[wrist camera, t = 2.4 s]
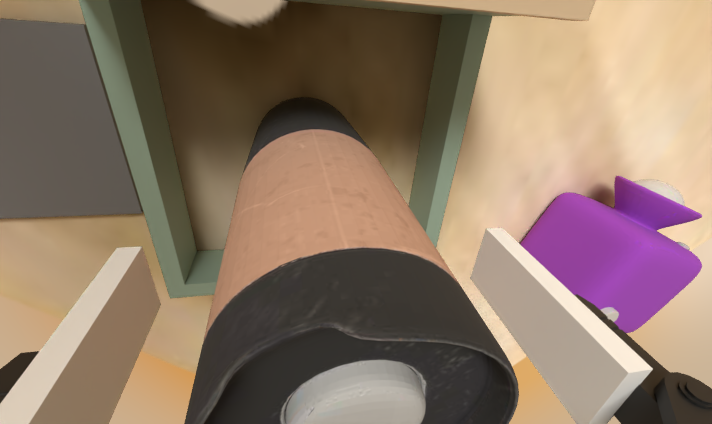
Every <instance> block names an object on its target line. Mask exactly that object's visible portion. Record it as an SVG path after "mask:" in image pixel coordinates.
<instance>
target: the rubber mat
mask: <svg viewBox="0 0 712 424" xmlns="http://www.w3.org/2000/svg"><path fill="white" fill-rule="evenodd" d="M141 213H143V208H142V205H141V202H140V198H139V195H138V192H137V189H136V185H135V182H134V179H133V176H132V172H131V169H130V166H129V163H128V159H127V156H126V153H125V149H124V146H123V143H122V140H121V136H120V133H119V130H118V127H117V123H116V120H115V117H114V114H113V110H112V107H111V104H110V101H109V97H108V94H107V91H106V87H105V84H104V81H103V78H102V74H101V71H100V68H99V65H98V61H97V58H96V55H95V52H94V48H93V45H92V42H91V39H90V35H89V32H88V29H87V25H84V24H70V23H55V22H41V21H27V20H12V19H0V219H4V218H31V217H59V216H86V215H114V214H141Z"/></svg>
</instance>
